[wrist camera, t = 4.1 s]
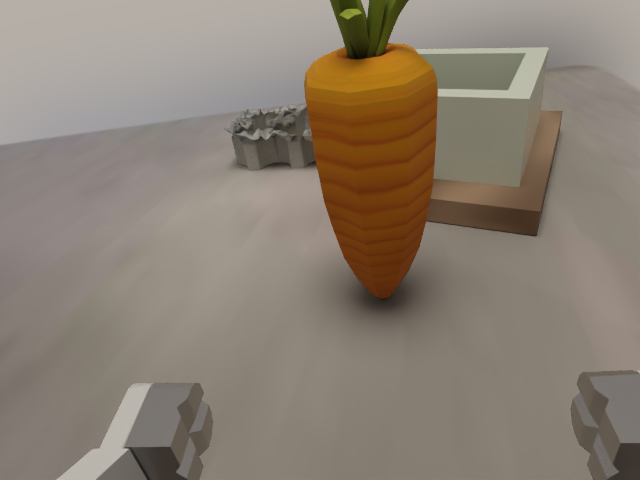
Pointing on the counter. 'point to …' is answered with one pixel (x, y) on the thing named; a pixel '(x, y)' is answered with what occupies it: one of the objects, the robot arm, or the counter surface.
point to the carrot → (374, 142)
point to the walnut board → (502, 191)
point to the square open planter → (486, 111)
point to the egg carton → (273, 137)
